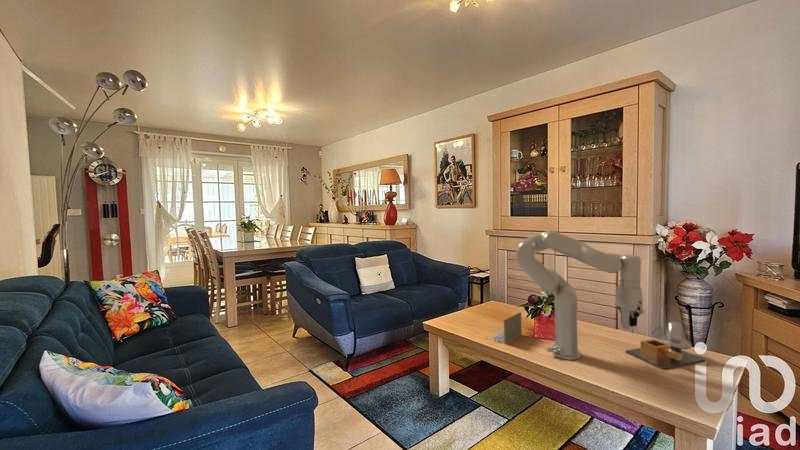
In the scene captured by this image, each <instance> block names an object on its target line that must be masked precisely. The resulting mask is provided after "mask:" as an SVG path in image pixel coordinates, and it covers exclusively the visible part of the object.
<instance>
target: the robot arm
mask: <svg viewBox="0 0 800 450" xmlns="http://www.w3.org/2000/svg"><path fill="white" fill-rule="evenodd" d="M545 250H552V251H554V252H557V253H559V254H562V255H565V256H566V257H569V258H571V259H574V260H576V261H579V262H581V263H584V264H585V265H588V266H590V267H592V268H595V269H597V270H601V271H603V272H604V273H608V274H617V273H619V278H618V281H619V284H617V288H616V293H615V303H614V305H615V306H616V307H617V309H618V311H619V313H620V314H621V312H622V308H624V309H627V310H630V311H631V317H630V326H636V327H637V326H638V318H640V317H641V315H644V314H645V311H644V309H643V306H644V303H643V302H644V300H643V291H642V288H641V269H642V259H641V257H640V256H638V255H634V254H624V255H623V254H617V253H611V252H610V253H609V252H607V253H605V252H603V251H600V250H598V249H596V248H593V247H591V246H589V244H587V243H586V242H583V241H581V240H578V239H575V238H573V237H570V236H567V235H565V234H562V233H560V232H559V231H557V230H554V229H549V230H547V231H544V232H542V233H538V234H535V235H532V236H528V237H526V238H524V239H523V240H522V241H520V243H519V244H518V246H517V249H516V252H515V260H516V262H517V264H518V266H519V267H520V269H521V270H522V271H523V272H525V274H526V275H527V276H528V277H529V278H530V279H531V280H532V281H534V283H535V284H537V286H538V287H539V288H540V289H541V290H543V291H545V292H547V293H548V292H549V293H551V295H553V296H554V325H555V326H554V328H555V329H554V333H555V337H554V338H555V343H554V344H553V346H552V347H546V351H547V353H551V354H553V355H554V356H555V357H556V358H559V359H563V360H570V361H571V360H572V361H573V360H575V361H576V360H579V359H581V358H582V352H581V351H579V349H578V347H579V346H578V342H579V341H578V296H577V291H576V290H575V288H574V287H573V286H572V285H571V284H570V283H569V282H567V280H565V279H564V278H563V277H562V276H561V274H559V273H558V272H557V271H555V270H554V269H552V268H547V267H546V266H545V265H543V264H542V262H541V261H539V260H538V259H537V258H536V256H535V255H536V254H537V253H539V252H543V251H545ZM634 312H635V314H634ZM553 355H552V356H553Z"/></svg>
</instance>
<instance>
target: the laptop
mask: <svg viewBox="0 0 800 450" xmlns="http://www.w3.org/2000/svg"><path fill="white" fill-rule="evenodd" d="M498 331H499V333H500V335H499V333H498ZM522 331H523V330H522V312H518V313H516V314H514V315H512V316H510V317H508V318H505V319H504V320H503V328H499V329H498V330H497V331H494V332H492V333H493V334H494V333H496V332H497V333H496V335H497V336H496V335H494V336H495V337H492V338H493V339H494V341H493V342H497V343H499V341H500V342H501V343H500V344H503V343H504V344H503V345H505V343H506V344H507V342H508V343H509V342H511V341H513V340H514V339H516V338H518V337H519V336H521V335H522ZM503 333H504V334H503ZM501 334H502V335H503V336H502V335H501ZM500 336H501V337H500ZM517 336H518V337H517ZM515 337H516V338H515ZM492 338H491V339H492ZM512 339H513V340H512ZM496 340H497V341H496ZM510 340H511V341H510Z"/></svg>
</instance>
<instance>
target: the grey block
mask: <svg viewBox="0 0 800 450" xmlns="http://www.w3.org/2000/svg"><path fill="white" fill-rule="evenodd" d="M634 314H635V312H634ZM630 317H631V311H630V310H627V309H624V308H622V312H621V313H620V326H621V327H622V329H624V330H626V331H635V330H636V328H637V326H630Z"/></svg>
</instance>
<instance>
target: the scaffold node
mask: <svg viewBox="0 0 800 450" xmlns="http://www.w3.org/2000/svg"><path fill="white" fill-rule="evenodd" d="M691 348H692V343H691V341H689V340H687V339H685V338H682V323H681V322H678V321H672V320H671V321H668V322H667V335H663V336H659V337H658V340H657V339H655V338H653V339H647V340H640V347H638V348H635V349H634V348H633V349H628V350H627V349H626V350H625V353H626V354H628V355H630V356H632V357H635V358H636V359H639V360H640V361H643V362H645V363H648V364H650V365H652V366H653V367H656V368H658V369H660V370H668V369H673V368H677V367H684V366H688V365H695V364H699V363H700V364H701V363H704V362H706V358H703V357H701V356H698V355H696V354H693V353H690V352H687V351H685V350H688V349H691Z"/></svg>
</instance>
